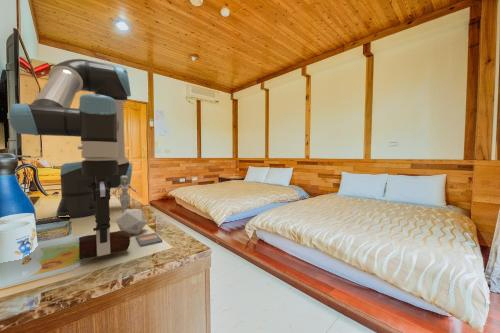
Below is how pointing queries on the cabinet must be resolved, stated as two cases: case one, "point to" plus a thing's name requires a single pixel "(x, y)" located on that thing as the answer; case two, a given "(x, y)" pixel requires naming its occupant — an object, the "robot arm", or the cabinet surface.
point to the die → (132, 221)
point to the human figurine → (124, 192)
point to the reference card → (148, 239)
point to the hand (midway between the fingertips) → (103, 250)
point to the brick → (89, 244)
